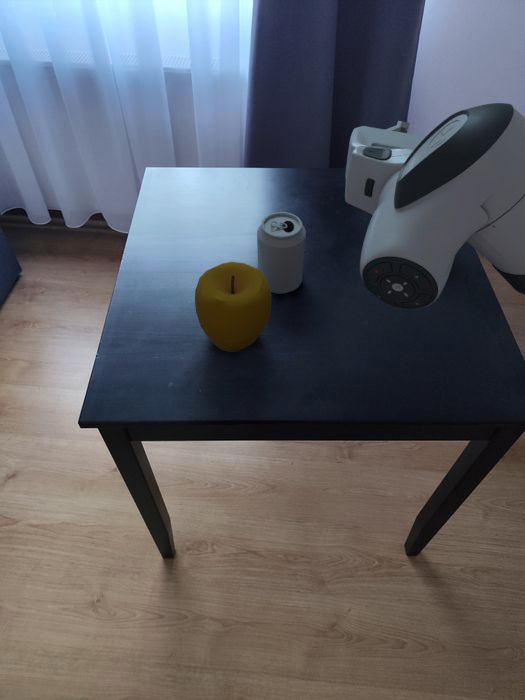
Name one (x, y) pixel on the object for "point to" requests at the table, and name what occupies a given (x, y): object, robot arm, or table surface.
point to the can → (281, 251)
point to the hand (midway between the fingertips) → (440, 133)
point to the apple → (233, 305)
